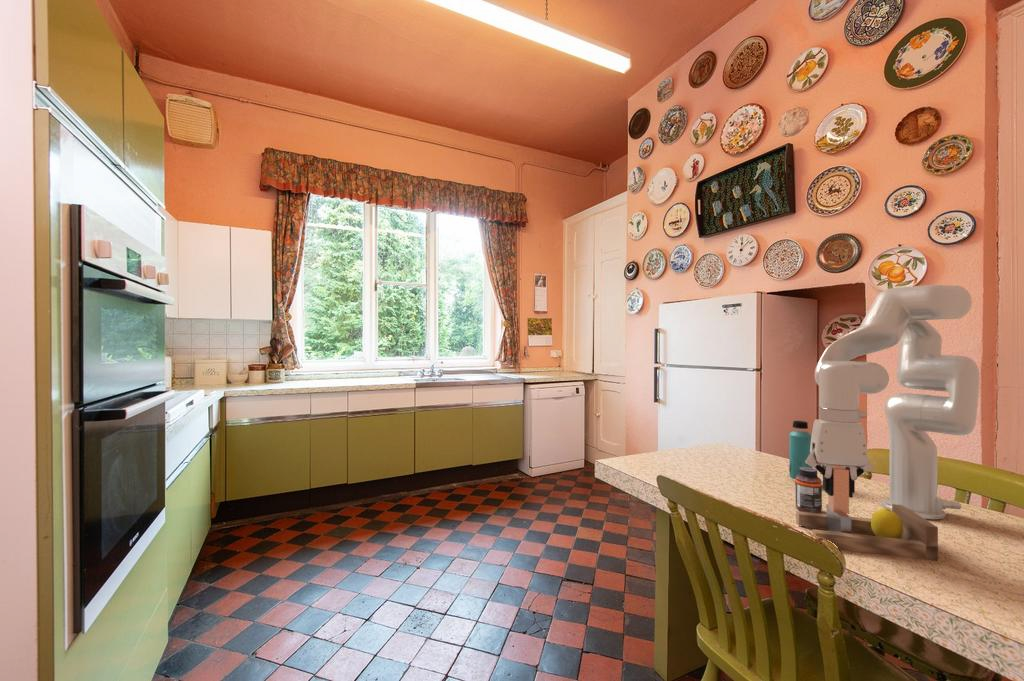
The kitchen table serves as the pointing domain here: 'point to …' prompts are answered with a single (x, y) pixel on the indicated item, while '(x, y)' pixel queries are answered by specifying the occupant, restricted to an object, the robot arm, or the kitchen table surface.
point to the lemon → (886, 524)
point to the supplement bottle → (808, 491)
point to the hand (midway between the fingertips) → (838, 493)
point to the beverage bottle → (798, 448)
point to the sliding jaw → (839, 502)
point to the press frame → (913, 542)
